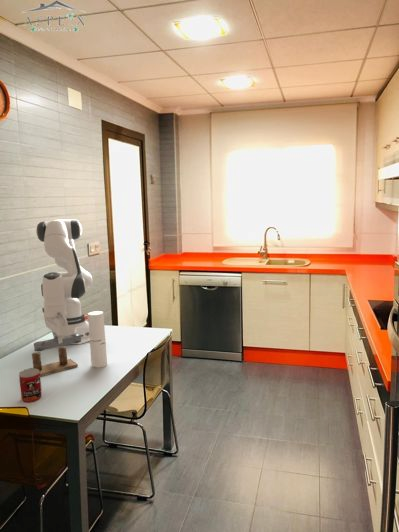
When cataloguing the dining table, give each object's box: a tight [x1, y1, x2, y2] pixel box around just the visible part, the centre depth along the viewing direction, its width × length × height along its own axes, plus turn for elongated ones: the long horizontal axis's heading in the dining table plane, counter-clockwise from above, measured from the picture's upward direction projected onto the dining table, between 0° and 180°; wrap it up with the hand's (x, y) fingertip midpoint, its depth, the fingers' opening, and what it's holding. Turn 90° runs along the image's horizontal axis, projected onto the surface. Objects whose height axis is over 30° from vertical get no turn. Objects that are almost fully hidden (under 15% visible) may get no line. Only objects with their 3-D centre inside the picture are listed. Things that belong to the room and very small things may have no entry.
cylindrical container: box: [87, 310, 108, 368], centre depth 212 cm, size 7×7×25 cm
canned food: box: [18, 367, 43, 403], centre depth 179 cm, size 8×8×11 cm
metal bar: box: [33, 333, 81, 352], centre depth 196 cm, size 20×4×3 cm, turn 126°
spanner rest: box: [24, 345, 79, 377], centre depth 209 cm, size 22×10×9 cm, turn 126°
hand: (58, 341), depth 196 cm, fingers closed on metal bar, 3 cm apart
